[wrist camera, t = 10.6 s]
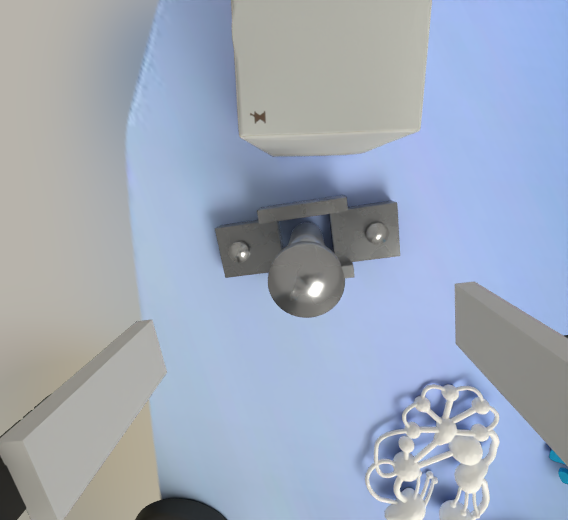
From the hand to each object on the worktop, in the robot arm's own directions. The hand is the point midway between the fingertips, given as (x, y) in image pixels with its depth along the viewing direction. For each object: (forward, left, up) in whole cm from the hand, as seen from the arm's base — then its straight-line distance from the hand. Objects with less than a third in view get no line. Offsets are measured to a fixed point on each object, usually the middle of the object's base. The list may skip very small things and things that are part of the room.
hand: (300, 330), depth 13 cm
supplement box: (+3, +12, -19) cm, 23 cm away
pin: (0, 0, -19) cm, 19 cm away
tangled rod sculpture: (+11, -28, -19) cm, 36 cm away
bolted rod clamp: (0, 0, -19) cm, 19 cm away
